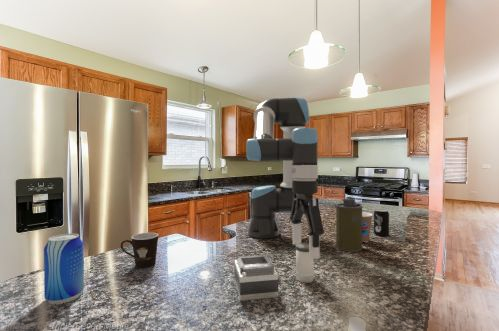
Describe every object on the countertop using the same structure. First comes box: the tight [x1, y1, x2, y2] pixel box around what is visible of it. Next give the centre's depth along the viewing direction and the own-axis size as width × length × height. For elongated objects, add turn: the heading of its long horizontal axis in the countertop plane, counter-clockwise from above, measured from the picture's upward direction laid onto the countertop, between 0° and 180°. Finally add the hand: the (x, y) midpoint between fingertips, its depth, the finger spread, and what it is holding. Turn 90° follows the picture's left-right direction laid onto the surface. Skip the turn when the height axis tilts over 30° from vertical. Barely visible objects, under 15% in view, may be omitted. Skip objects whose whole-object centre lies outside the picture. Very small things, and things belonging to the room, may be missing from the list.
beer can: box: [43, 233, 85, 305], centre depth 70 cm, size 8×8×16 cm
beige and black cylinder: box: [295, 242, 315, 284], centre depth 81 cm, size 5×5×10 cm
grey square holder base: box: [233, 254, 279, 301], centre depth 75 cm, size 12×10×7 cm
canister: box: [335, 197, 364, 253], centre depth 109 cm, size 11×10×20 cm
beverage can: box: [373, 208, 390, 237], centre depth 128 cm, size 7×7×12 cm
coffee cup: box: [362, 211, 374, 243], centre depth 119 cm, size 10×10×12 cm
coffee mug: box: [120, 232, 159, 270], centre depth 92 cm, size 12×9×10 cm
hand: (304, 250), depth 80 cm, fingers open, 13 cm apart
